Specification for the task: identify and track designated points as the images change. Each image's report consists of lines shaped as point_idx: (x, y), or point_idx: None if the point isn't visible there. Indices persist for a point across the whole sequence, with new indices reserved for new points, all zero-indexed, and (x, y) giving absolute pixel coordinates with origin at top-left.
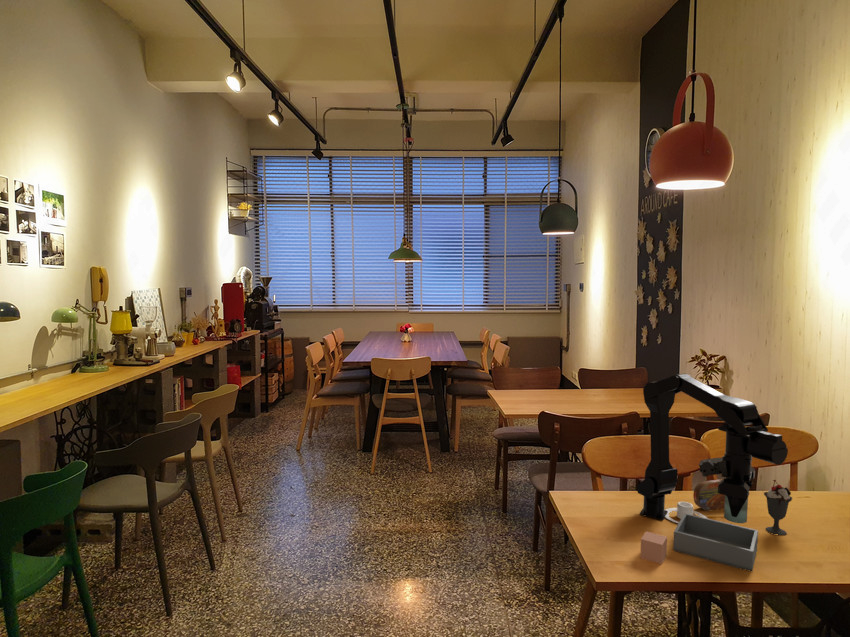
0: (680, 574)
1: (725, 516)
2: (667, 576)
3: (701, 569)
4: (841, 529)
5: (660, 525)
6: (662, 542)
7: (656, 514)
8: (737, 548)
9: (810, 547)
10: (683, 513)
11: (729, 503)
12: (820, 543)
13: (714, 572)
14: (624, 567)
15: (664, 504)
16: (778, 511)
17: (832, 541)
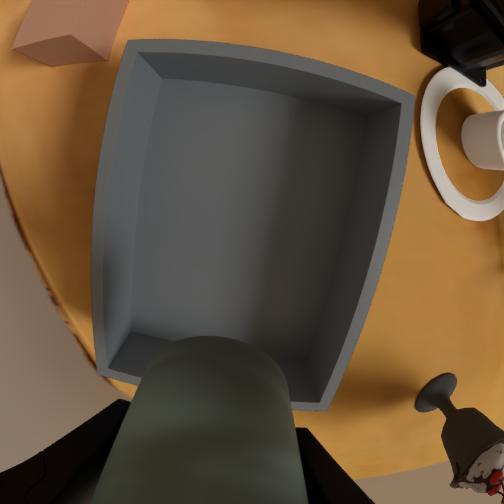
0: (17, 128)
1: (173, 351)
2: (3, 102)
3: (60, 180)
4: (443, 461)
5: (377, 35)
6: (24, 41)
7: (430, 29)
8: (93, 326)
9: (362, 449)
10: (477, 129)
11: (36, 457)
12: (385, 456)
13: (61, 220)
14: (24, 9)
15: (485, 58)
16: (449, 444)
17: (397, 465)
